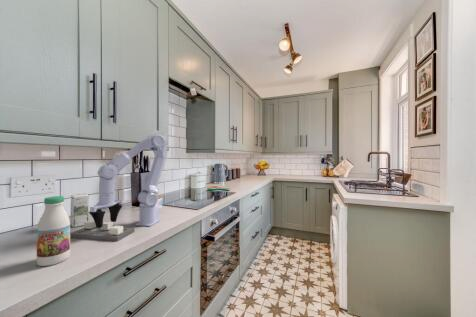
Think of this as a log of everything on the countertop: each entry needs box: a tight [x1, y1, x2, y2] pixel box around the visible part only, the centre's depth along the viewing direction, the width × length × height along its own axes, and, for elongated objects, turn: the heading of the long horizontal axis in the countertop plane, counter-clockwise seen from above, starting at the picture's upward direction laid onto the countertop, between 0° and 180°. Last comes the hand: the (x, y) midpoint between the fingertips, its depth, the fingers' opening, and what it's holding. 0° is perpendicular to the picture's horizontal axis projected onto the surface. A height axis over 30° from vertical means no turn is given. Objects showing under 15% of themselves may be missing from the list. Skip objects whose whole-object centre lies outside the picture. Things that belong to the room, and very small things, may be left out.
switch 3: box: [110, 225, 124, 235], centre depth 81 cm, size 3×4×2 cm
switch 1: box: [83, 219, 96, 229], centre depth 87 cm, size 3×4×2 cm
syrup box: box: [70, 193, 90, 229], centre depth 95 cm, size 6×6×14 cm
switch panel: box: [70, 227, 136, 242], centre depth 84 cm, size 10×22×2 cm, turn 81°
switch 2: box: [100, 220, 114, 230], centre depth 86 cm, size 3×4×2 cm
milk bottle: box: [36, 195, 71, 267], centre depth 63 cm, size 8×8×20 cm
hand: (106, 224), depth 86 cm, fingers open, 7 cm apart
